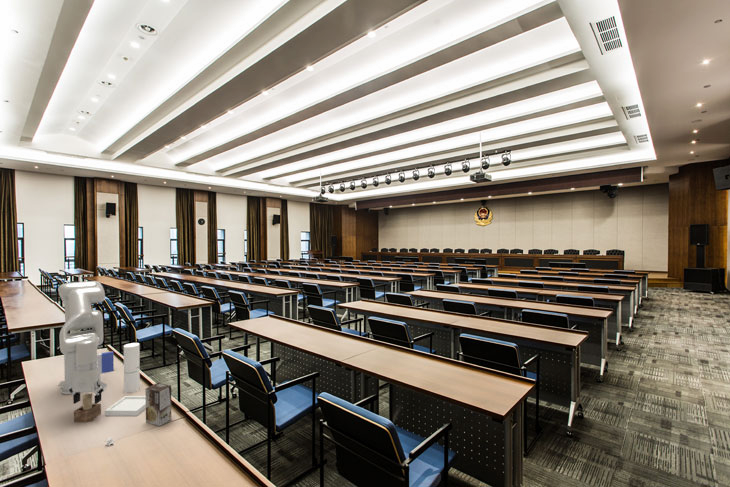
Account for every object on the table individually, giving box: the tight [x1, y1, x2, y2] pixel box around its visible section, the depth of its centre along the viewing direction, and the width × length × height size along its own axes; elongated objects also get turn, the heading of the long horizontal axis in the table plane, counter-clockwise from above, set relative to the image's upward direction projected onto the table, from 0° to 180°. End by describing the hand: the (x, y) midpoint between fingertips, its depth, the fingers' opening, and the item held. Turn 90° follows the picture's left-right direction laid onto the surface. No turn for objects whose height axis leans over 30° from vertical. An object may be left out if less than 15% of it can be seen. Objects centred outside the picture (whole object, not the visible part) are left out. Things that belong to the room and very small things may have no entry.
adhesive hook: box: [104, 436, 114, 447], centre depth 138 cm, size 3×3×3 cm
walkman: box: [97, 350, 115, 374], centre depth 207 cm, size 8×3×12 cm, turn 127°
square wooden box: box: [73, 403, 102, 423], centre depth 157 cm, size 7×7×5 cm
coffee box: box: [144, 382, 172, 427], centre depth 156 cm, size 9×6×16 cm
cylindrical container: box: [123, 342, 141, 394], centre depth 185 cm, size 7×7×25 cm
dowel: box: [82, 392, 93, 410], centre depth 157 cm, size 3×3×11 cm
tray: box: [104, 395, 146, 417], centre depth 167 cm, size 15×14×2 cm
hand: (87, 402), depth 157 cm, fingers open, 9 cm apart
